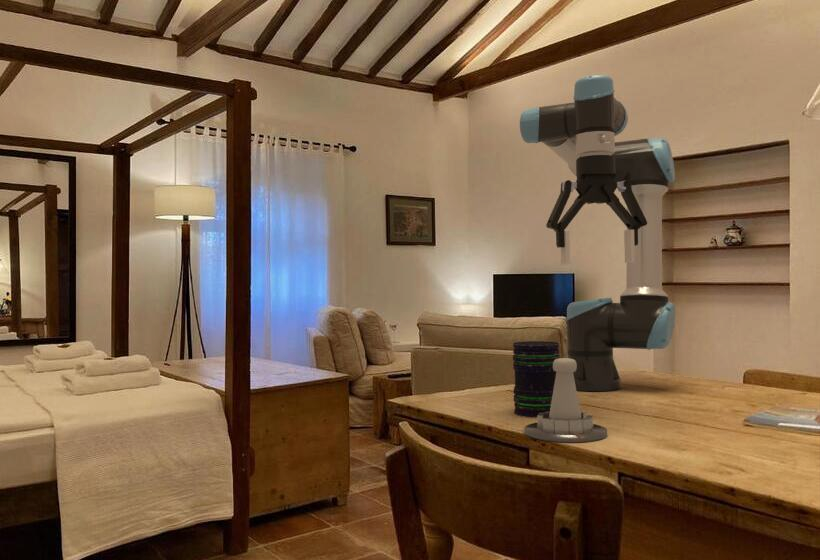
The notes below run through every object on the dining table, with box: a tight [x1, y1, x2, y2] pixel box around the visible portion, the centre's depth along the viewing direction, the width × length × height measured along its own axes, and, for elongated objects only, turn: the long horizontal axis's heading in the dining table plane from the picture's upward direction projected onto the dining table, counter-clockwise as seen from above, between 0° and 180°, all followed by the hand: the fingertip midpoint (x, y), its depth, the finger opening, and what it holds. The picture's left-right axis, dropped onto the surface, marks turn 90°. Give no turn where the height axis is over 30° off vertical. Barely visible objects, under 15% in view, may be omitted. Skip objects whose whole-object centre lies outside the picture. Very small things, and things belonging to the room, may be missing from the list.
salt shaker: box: [549, 357, 582, 420], centre depth 128 cm, size 6×6×13 cm
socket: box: [523, 411, 608, 444], centre depth 128 cm, size 15×15×3 cm
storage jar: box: [512, 340, 561, 418], centre depth 148 cm, size 10×10×15 cm
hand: (597, 263), depth 137 cm, fingers open, 13 cm apart
